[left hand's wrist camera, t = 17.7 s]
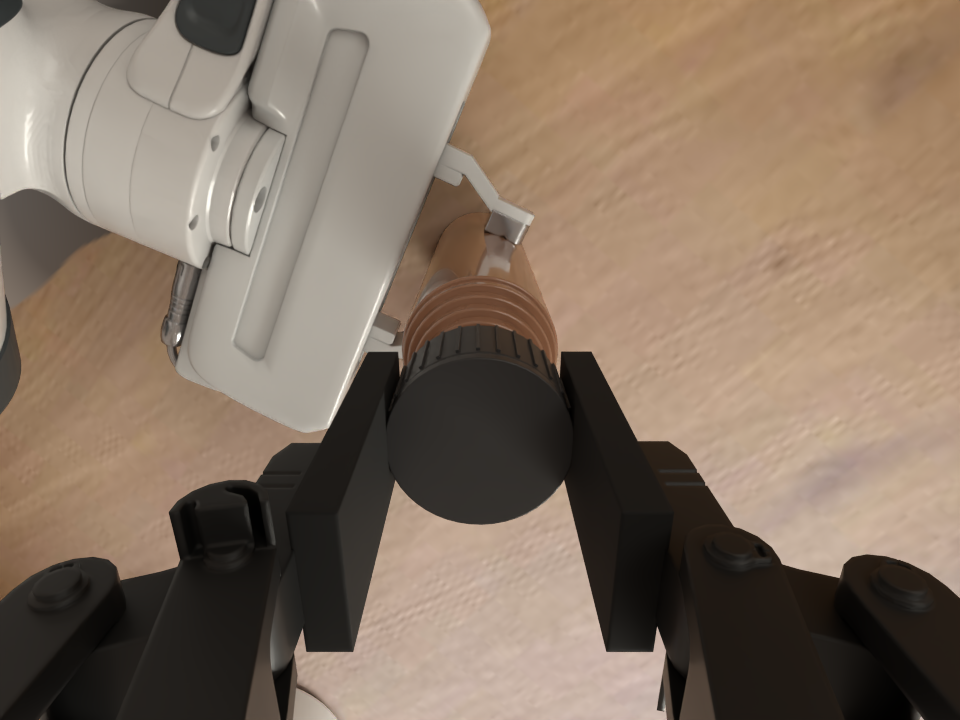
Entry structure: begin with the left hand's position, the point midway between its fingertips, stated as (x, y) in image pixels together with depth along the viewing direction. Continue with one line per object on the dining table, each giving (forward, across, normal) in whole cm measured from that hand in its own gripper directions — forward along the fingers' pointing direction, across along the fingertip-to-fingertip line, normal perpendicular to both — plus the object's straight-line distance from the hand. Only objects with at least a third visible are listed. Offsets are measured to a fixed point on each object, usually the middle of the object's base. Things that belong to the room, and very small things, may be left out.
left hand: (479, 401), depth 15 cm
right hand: (+13, -1, 0) cm, 13 cm away
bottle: (+19, 0, 0) cm, 19 cm away
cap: (-2, 0, 0) cm, 2 cm away
